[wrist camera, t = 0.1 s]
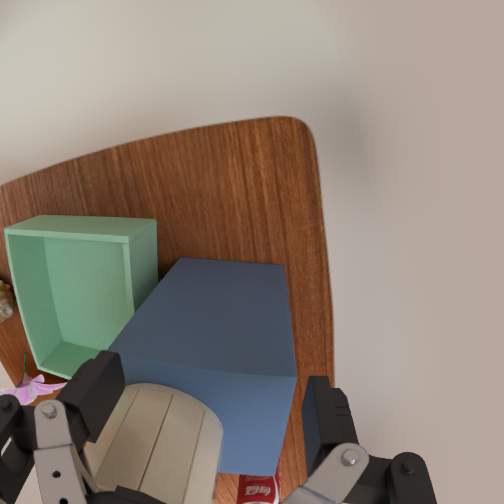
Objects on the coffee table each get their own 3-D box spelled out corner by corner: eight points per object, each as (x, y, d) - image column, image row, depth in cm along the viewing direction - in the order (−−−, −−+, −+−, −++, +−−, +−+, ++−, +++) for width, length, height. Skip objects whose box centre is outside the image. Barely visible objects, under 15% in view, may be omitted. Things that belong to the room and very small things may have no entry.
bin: (40, 214, 29) (3, 228, 23) (156, 219, 29) (128, 236, 22) (62, 341, 34) (37, 369, 28) (165, 364, 34) (148, 400, 28)
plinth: (180, 256, 30) (104, 352, 14) (284, 264, 29) (297, 377, 14) (183, 342, 33) (135, 456, 17) (274, 351, 32) (274, 476, 17)
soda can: (279, 452, 38) (279, 519, 27) (243, 451, 38) (236, 518, 27) (280, 432, 37) (281, 505, 25) (242, 431, 37) (234, 504, 25)
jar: (101, 371, 15) (33, 477, 7) (224, 393, 15) (198, 532, 7) (125, 443, 17) (87, 532, 9) (224, 462, 17) (208, 565, 9)
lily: (31, 383, 40) (29, 430, 32) (-13, 343, 32) (-23, 394, 25) (80, 368, 41) (82, 419, 34) (36, 323, 34) (28, 380, 27)
